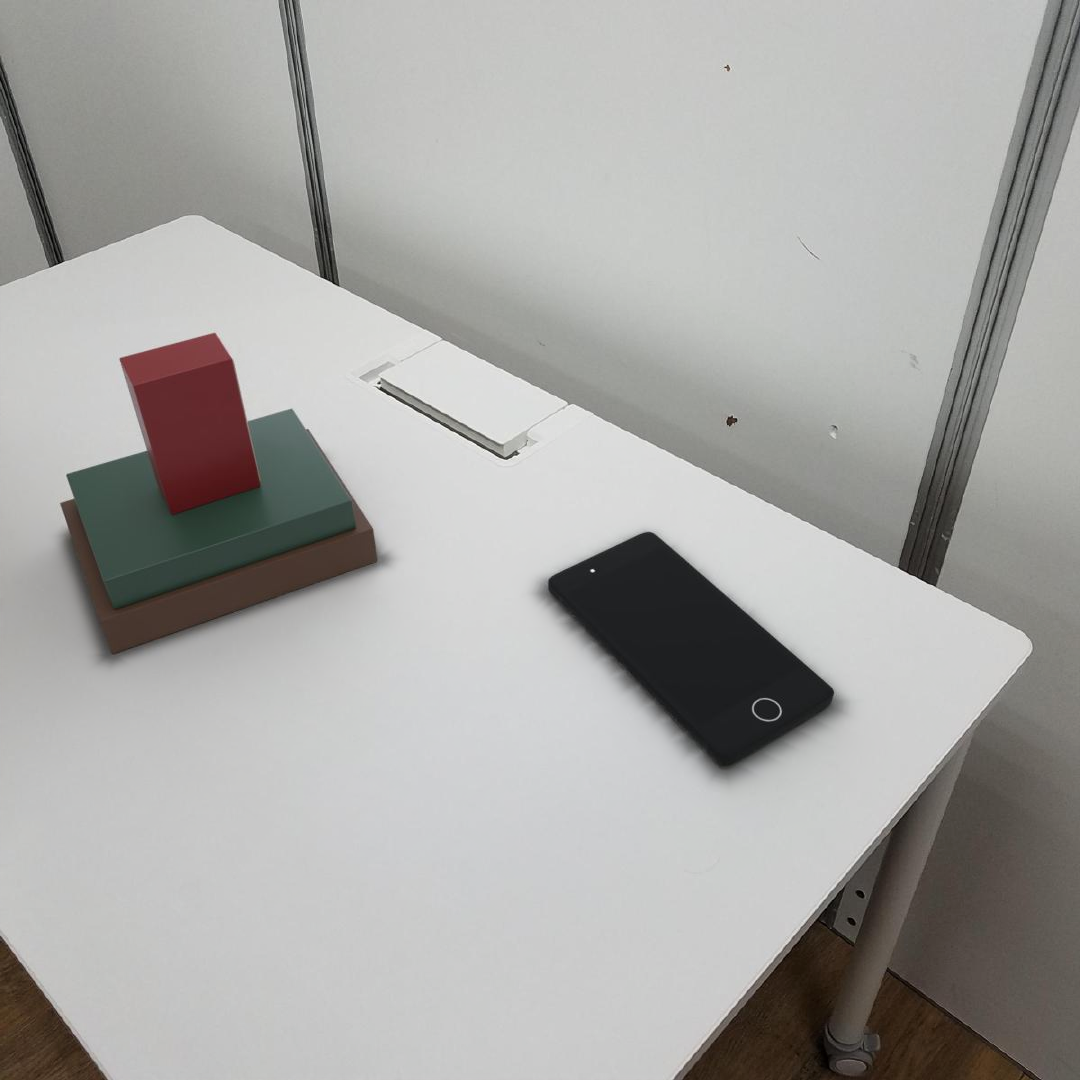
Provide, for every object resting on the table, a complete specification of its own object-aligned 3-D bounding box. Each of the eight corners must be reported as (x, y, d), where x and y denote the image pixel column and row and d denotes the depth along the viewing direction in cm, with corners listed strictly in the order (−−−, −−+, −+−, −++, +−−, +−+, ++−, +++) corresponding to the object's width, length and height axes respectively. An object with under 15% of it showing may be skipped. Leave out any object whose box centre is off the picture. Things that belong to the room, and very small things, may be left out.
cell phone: (723, 771, 63) (725, 760, 62) (544, 588, 74) (544, 578, 74) (835, 702, 67) (838, 692, 66) (649, 538, 78) (649, 528, 77)
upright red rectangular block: (171, 515, 72) (132, 385, 65) (157, 485, 74) (118, 357, 68) (262, 486, 74) (234, 357, 68) (246, 458, 76) (217, 331, 70)
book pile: (112, 654, 70) (88, 592, 67) (72, 535, 79) (48, 474, 75) (378, 561, 77) (369, 499, 73) (313, 460, 85) (303, 400, 82)
